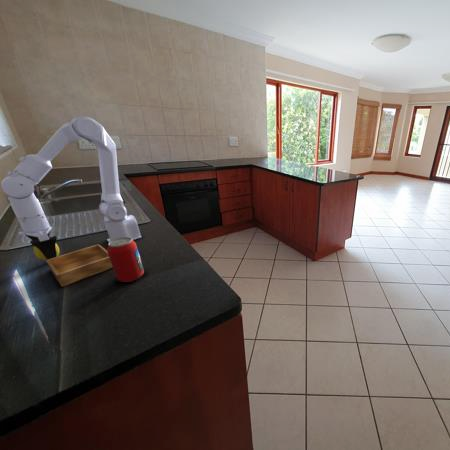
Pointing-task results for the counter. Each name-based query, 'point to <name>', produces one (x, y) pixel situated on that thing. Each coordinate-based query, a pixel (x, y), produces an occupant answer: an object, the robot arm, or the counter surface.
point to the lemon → (40, 254)
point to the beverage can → (125, 259)
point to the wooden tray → (79, 264)
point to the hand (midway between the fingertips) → (49, 254)
